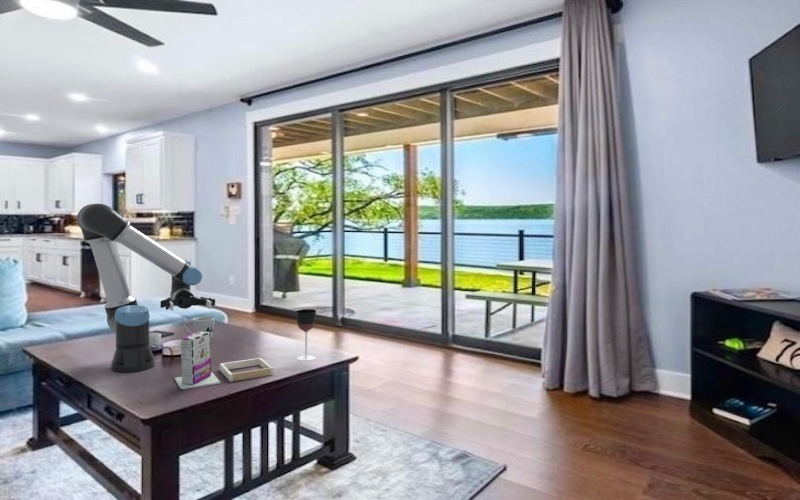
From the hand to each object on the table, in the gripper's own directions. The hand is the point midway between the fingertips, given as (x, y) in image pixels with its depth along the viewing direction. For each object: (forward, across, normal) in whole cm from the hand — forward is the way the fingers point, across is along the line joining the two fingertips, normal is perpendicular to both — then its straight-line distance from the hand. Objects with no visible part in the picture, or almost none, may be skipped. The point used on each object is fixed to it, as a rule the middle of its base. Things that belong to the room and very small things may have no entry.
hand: (191, 306), depth 192 cm
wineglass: (+6, -45, -23) cm, 51 cm away
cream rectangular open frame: (+13, -18, -24) cm, 33 cm away
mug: (-52, -11, -24) cm, 58 cm away
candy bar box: (+16, 0, -24) cm, 29 cm away
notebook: (-65, +10, -26) cm, 71 cm away
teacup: (-45, +9, -25) cm, 52 cm away
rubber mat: (+16, 0, -25) cm, 29 cm away
